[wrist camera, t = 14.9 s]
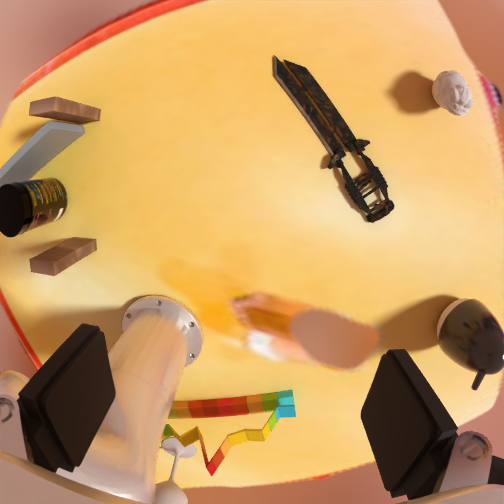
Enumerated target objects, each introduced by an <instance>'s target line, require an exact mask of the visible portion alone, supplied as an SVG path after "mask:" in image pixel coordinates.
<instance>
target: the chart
mask: <svg viewBox="0 0 504 504" xmlns="http://www.w3.org/2000/svg"><path fill="white" fill-rule="evenodd" d="M272 411H274V412H273V413H272V415H271V417H270V418H269V420H268V421H267V423H266V424H265V426H264V427H263V429H244V430H241V431H238V432H235V433H231V434H228V436H227V437H226V438H225V440H224V441H223V443H222V444H221V446H220V447H219V449H218V450H217V452H216V453H215V455H214V456H213V458H212V459H211V460H210V462H208V458H207V454H206V450H205V446H204V442H203V437H202V435H201V433H200V431H199V428H198V426H197V427H195V428H193V429H192V430H190V431H188V432H186V433H184V434H183V435H181V436H179V435H178V434H177V433H176V432H175V431H174V430H173V428H172V427H171V426H170V425H169V424H167V425H165V428H164V431H163V435H162V438H161V440H162V439H165V438H166V437H170V436H172V435H174V436H175V438H176V439H177V440H178V441H179V442H180V443H181V444H182V445H183V446H184V447H187V446H188V445H190V444H192V443H194V442H195V441H197V440H199V439H200V443H201V448H202V452H203V456H204V460H205V464H206V468H207V470H208V471H209V473H210V475H211V476H212V475H213V474H214V472H215V471H216V470H217V468H218V467H219V465H220V464H221V462H222V461H223V459H224V457H225V456H226V454H227V453H228V451H229V450H230V448H231V447H232V446H234V445H237V444H240V443H243V442H246V441H265V440H266V439H267V437H268V436H269V434H270V432H271V431H272V429H273V428H274V426H275V425H276V423H277V421H278V420H279V418H280V417H296V412H295V405H294V399H293V392H292V390H288V391H281V392H275V393H268V394H260V395H252V396H247V398H246V396H243V397H234V398H223V399H211V400H196V401H176V402H175V401H173V403H172V406H171V409H170V412H169V415H168V418H167V419H183V418H208V417H220V416H221V417H224V416H236V415H246V414H249V413H250V414H255V413H264V412H272ZM279 414H280V415H279ZM262 431H263V432H262ZM264 438H265V439H264Z"/></svg>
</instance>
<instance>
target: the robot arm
mask: <svg viewBox="0 0 504 504" xmlns="http://www.w3.org/2000/svg"><path fill="white" fill-rule="evenodd" d="M159 301H160V302H159ZM192 322H193V323H192ZM202 345H203V333H202V328H201V326H200V323H199V321H198V320H197V318H196V317H195V315H194V314H193V313H192V312H191V311H190V310H189V309H188V308H187V307H186V306H184V305H183V304H182V303H180V302H178V301H176V300H174V299H171V298H168V297H165V296H159V295H151V296H146V297H142V298H140V299H138V300H136V301H135V302H134V303H132V304H131V305H130V306H129V308H128V309H127V310H126V312H125V314H124V316H123V319H122V335H121V336H120V338H119V339H118V340H117V342H116V343H115V344H114V346H113V347H112V349H111V350H110V351H109V353H108V352H107V347H106V342H105V336H104V333H103V332H102V331H100V329H99V327H98V326H94V325H89V324H81V325H80V326H79V327H78V328H77V329H76V330H75V331H74V332H73V333H72V335H71V336H70V337H69V338H68V339H67V340H66V341H65V342H64V343H63V344H62V345H61V346H60V347H59V348H58V349H57V350H56V351H55V353H54V354H53V355H52V356H51V357H50V358H49V359H48V360H47V361H46V362H45V363H44V365H43V366H42V367H41V368H40V369H39V370H38V371H37V372H36V374H35V375H34V376H33V377H32V378H31V379H28V378H27V377H26V376H24V375H23V374H21V373H18V372H16V371H11V370H7V371H2V372H0V504H154V498H155V485H156V465H157V457H158V451H159V446H160V442H161V438H162V435H163V431H164V428H165V425H166V421H167V418H168V415H169V412H170V409H171V406H172V403H173V400H174V397H175V394H176V391H177V387H178V384H179V381H180V378H181V375H182V372H183V369H184V367H186V366H188V365H190V364H191V363H192V362H194V361H195V360H196V358H197V357H198V356H199V354H200V351H201V349H202ZM361 420H362V423H363V425H364V428H365V431H366V434H367V437H368V440H369V442H370V445H371V448H372V451H373V454H374V457H375V460H376V463H377V466H378V469H379V471H380V475H381V478H382V481H383V484H384V487H385V489H386V490H387V491H390V493H391V496H392V498H395V497H399V496H403V495H407V497H408V501H406V502H402V503H397V504H504V459H502V458H499V457H496V456H493V455H492V453H493V452H492V445H491V443H490V441H489V440H488V439H487V438H486V437H485V436H484V435H482V434H480V433H478V432H474V431H466V432H463V433H461V434H460V435H459V436H458V435H457V433H456V431H457V429H458V427H457V426H456V424H455V423H454V421H453V419H452V418H451V416H450V415H449V413H448V412H447V410H446V408H445V407H444V405H443V404H442V402H441V401H440V399H439V398H438V396H437V395H436V393H435V392H434V390H433V389H432V387H431V386H430V384H429V383H428V381H427V380H426V378H425V377H424V376H423V374H422V373H421V371H420V370H419V368H418V367H417V365H416V364H415V363H414V361H413V360H412V358H411V357H410V355H409V354H408V353H407V351H406V350H405V349H394V350H388V351H387V353H386V354H383V356H382V357H381V360H380V363H379V366H378V369H377V371H376V374H375V377H374V380H373V382H372V385H371V387H370V390H369V393H368V395H367V398H366V400H365V403H364V405H363V407H362V410H361Z"/></svg>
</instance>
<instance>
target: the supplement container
mask: <svg viewBox="0 0 504 504" xmlns="http://www.w3.org/2000/svg"><path fill="white" fill-rule="evenodd" d="M66 206H67V193H66V190H65V188H64V186H63V184H62V183H61V182H60V181H59V180H57V179H55V178H43V179H36V180H29V181H23V182H14V183H9V184H4V185H2V186H1V187H0V231H1V233H2V234H4V235H5V236H7V237H15V236H17V235H20V234H23V233H24V232H27V231H29V230H32V229H35V228H37V227H40V226H43V225H46V224H48V223H51V222H54V221H57V220H58V219H60V218H61V217H62V215H63V214H64V212H65V210H66Z"/></svg>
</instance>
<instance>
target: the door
mask: <svg viewBox="0 0 504 504" xmlns="http://www.w3.org/2000/svg"><path fill="white" fill-rule="evenodd" d="M84 133H85V131H84V129H83V126H80V125H74V124H68V123H61V122H54V121H48V122H47V123H46V124H45V125H44V126H43V127H42V128H41V129H39V130H38V131H37V132H36V133H35V134H34V135H33V136H32V137H31V138H30V139H29V140H28V141H27V142H26V143H25V144H24V145H23V146H22V147H21V148H20V149H19V150H18V151H17V152H16V153H15V154H14V155H13V156H12V157H11V158H10V159H9V160H8V161H7V162H6V163H5V164H4V166H3V167H2V168H1V169H0V187H1V186H2V185H4V184H9V183H14V182H23V181H28V180H29V179H30V178H31V177H32V176H34V175H35V174H36V173H37V172H38V171H39V170H40V169H41V168H42V167H44V166H45V165H46V164H47V163H48V162H49V161H50V160H52V159H53V158H54V157H55V156H56V155H58V154H59V153H60V152H61V151H62V150H64V149H65V148H66V147H67V146H69V145H70V144H71V143H72V142H74V141H75V140H76V139H78V138H79V137H80V136H81V135H83V134H84Z"/></svg>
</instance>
